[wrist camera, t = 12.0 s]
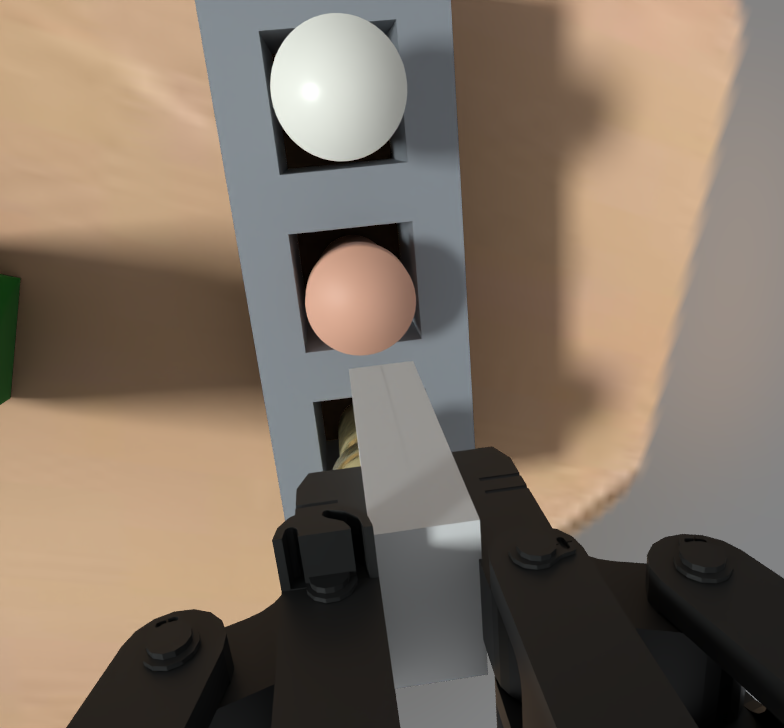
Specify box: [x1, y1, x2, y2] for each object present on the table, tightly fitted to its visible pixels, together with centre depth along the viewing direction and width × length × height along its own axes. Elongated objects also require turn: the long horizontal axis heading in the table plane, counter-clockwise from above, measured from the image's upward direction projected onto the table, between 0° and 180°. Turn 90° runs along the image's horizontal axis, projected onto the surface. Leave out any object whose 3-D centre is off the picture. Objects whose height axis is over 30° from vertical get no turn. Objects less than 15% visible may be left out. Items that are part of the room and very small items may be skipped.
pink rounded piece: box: [305, 235, 416, 356], centre depth 30 cm, size 5×5×7 cm
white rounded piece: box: [270, 13, 407, 161], centre depth 25 cm, size 5×5×7 cm
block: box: [195, 0, 475, 521], centre depth 32 cm, size 26×10×7 cm, turn 5°
